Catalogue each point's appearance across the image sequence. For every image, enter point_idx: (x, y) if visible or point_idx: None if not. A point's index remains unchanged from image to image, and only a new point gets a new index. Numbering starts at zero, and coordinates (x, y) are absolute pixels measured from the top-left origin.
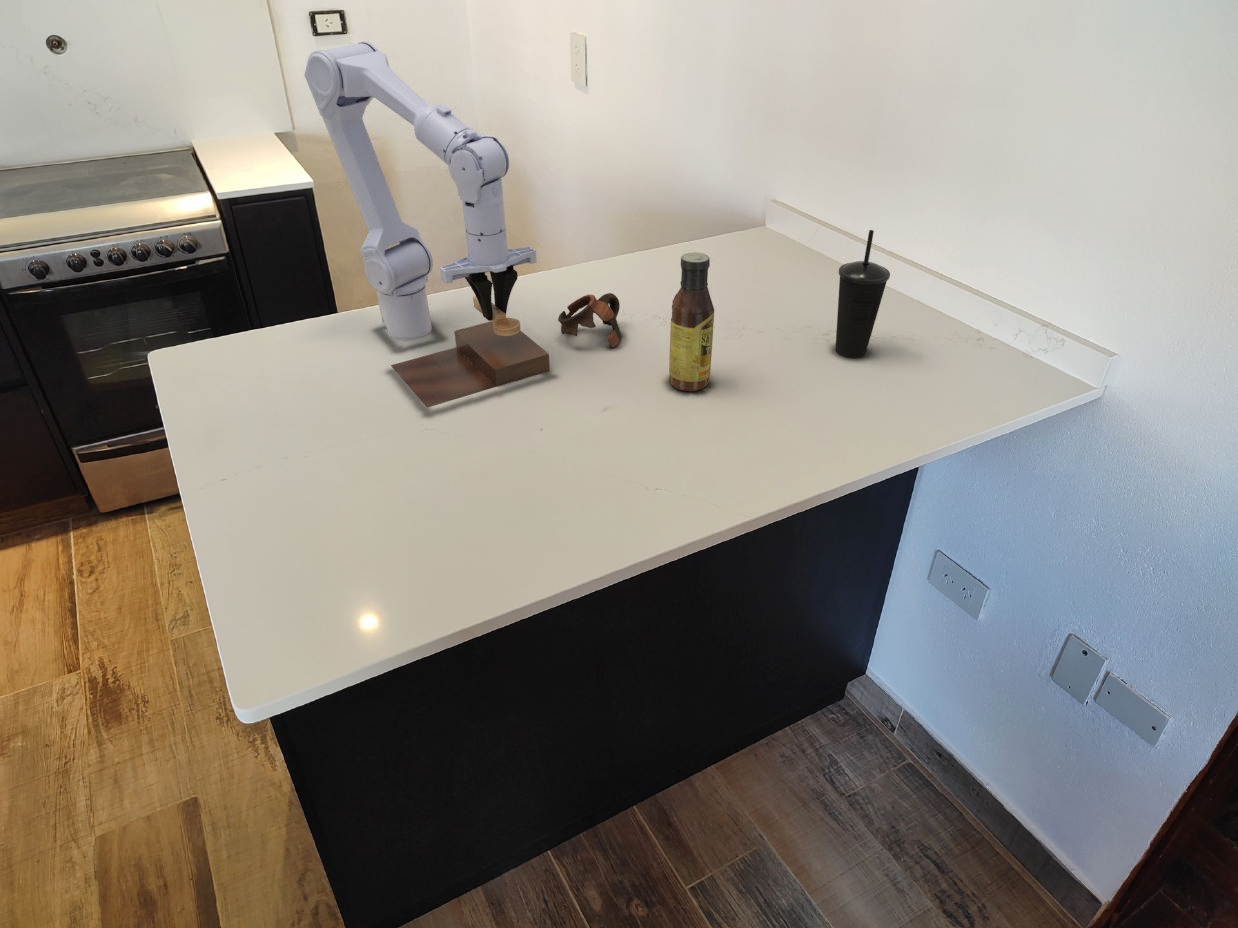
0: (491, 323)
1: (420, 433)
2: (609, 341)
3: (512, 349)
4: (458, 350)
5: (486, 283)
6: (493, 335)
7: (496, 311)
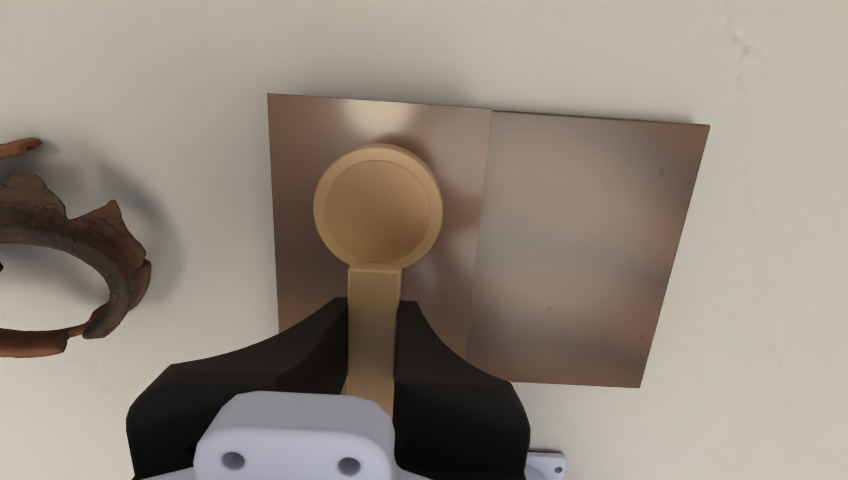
0: None
1: (773, 41)
2: (23, 142)
3: None
4: None
5: (450, 388)
6: None
7: (373, 316)
